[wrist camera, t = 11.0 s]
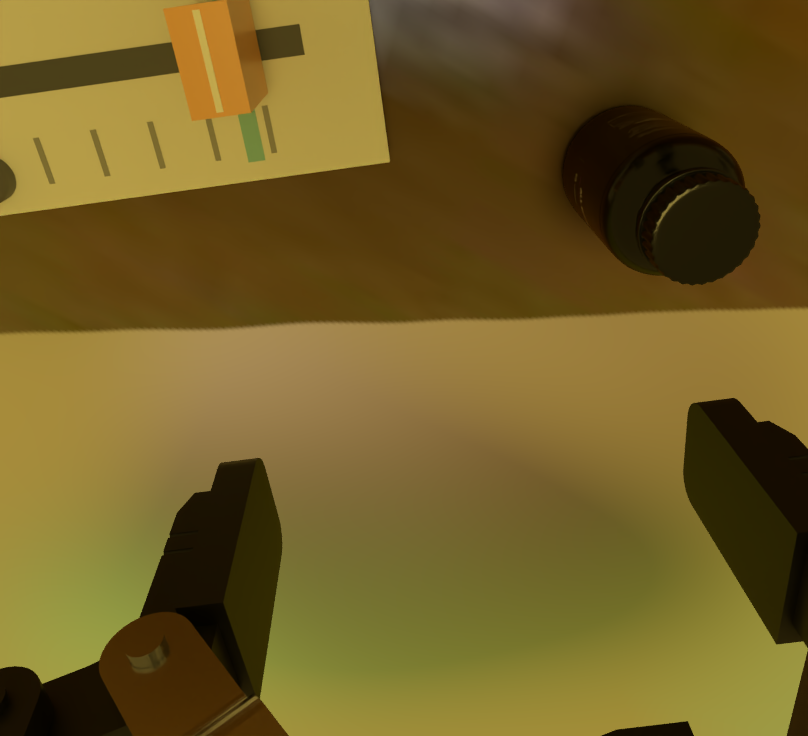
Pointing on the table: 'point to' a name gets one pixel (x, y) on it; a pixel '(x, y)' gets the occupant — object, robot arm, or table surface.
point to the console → (175, 101)
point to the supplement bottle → (661, 195)
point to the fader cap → (217, 57)
